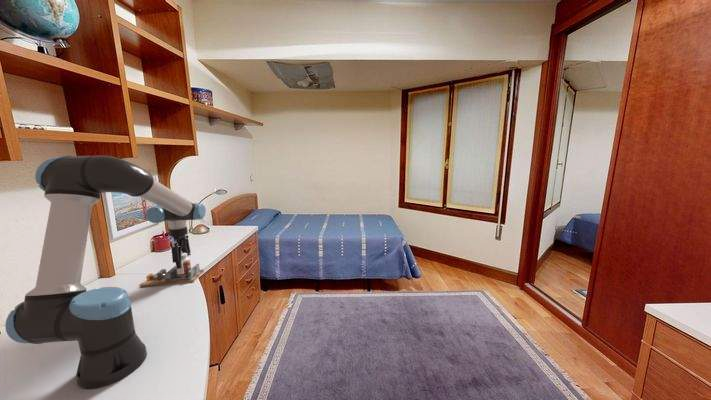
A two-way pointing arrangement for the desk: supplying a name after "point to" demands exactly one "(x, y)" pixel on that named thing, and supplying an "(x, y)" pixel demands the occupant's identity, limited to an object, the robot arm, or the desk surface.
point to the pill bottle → (185, 265)
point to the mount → (173, 277)
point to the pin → (153, 276)
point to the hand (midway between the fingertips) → (184, 270)
